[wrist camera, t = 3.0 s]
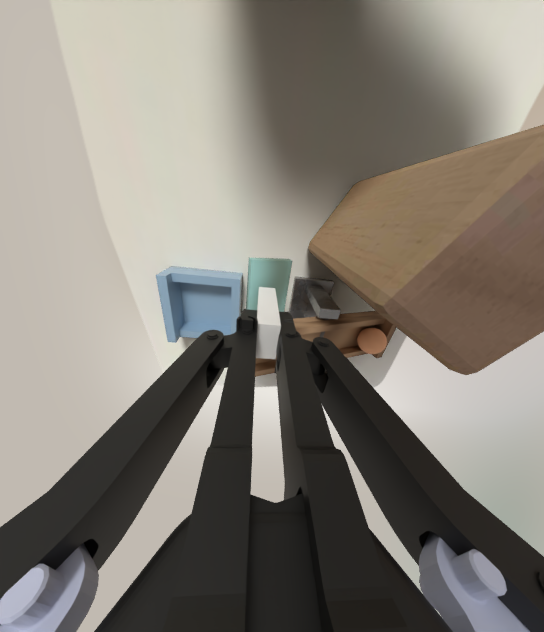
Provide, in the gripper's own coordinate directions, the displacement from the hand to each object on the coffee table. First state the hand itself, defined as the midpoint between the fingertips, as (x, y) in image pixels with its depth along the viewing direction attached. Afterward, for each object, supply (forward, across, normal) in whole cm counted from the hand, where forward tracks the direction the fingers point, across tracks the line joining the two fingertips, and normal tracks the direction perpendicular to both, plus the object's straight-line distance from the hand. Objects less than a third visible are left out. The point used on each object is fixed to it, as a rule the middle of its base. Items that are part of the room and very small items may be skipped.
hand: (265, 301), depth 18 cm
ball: (+4, +15, -6) cm, 17 cm away
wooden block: (+12, +12, +6) cm, 18 cm away
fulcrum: (+12, +8, -6) cm, 16 cm away
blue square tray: (+12, -8, -6) cm, 16 cm away
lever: (+5, +8, -3) cm, 9 cm away
